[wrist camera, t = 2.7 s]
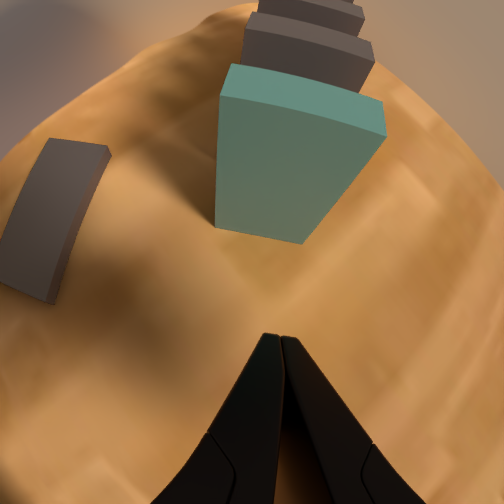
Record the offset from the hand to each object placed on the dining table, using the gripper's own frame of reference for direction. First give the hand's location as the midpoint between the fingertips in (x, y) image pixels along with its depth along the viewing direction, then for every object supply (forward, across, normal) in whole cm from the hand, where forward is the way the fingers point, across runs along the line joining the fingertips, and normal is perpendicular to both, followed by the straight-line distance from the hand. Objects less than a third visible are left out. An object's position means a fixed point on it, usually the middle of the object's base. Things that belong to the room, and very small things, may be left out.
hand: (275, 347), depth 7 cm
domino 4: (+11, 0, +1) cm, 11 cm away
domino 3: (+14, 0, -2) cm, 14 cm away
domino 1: (+10, +13, +3) cm, 17 cm away
